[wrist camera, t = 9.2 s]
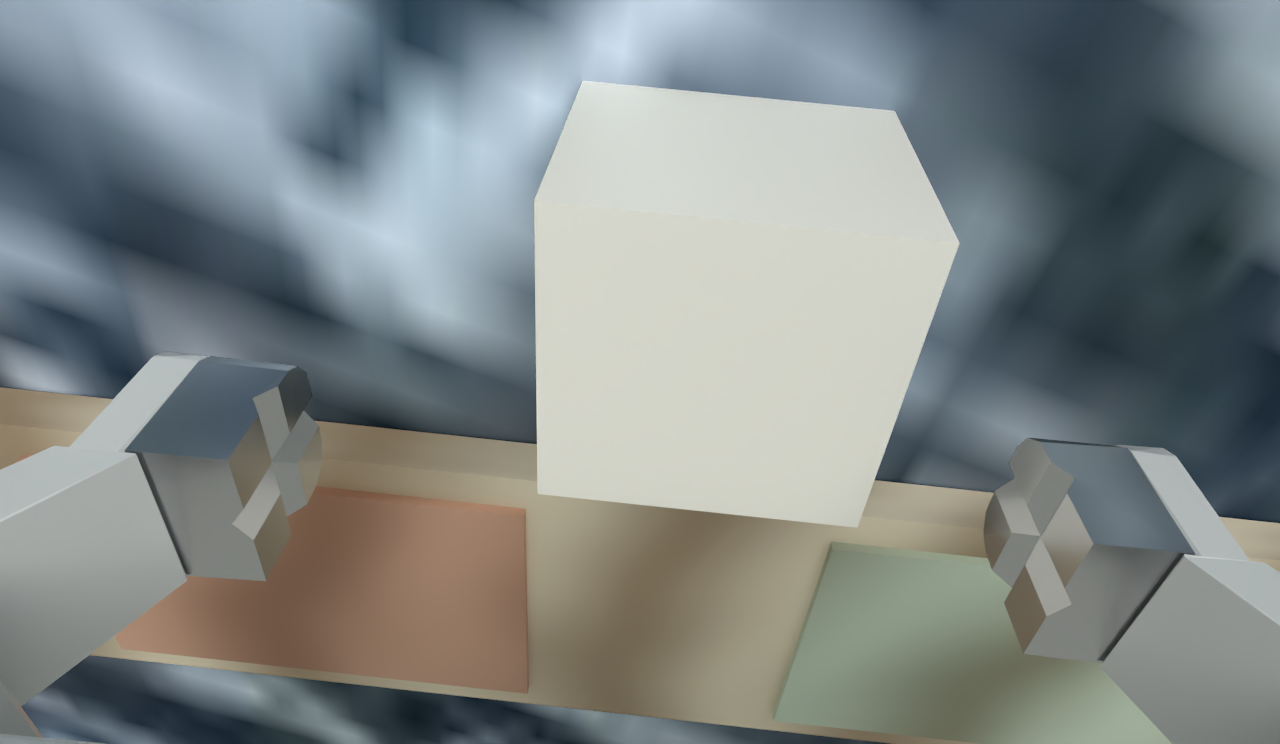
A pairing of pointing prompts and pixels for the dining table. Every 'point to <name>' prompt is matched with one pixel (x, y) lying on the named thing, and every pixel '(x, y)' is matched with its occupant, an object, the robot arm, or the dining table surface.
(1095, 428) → the dining table surface
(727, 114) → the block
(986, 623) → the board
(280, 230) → the dining table surface
